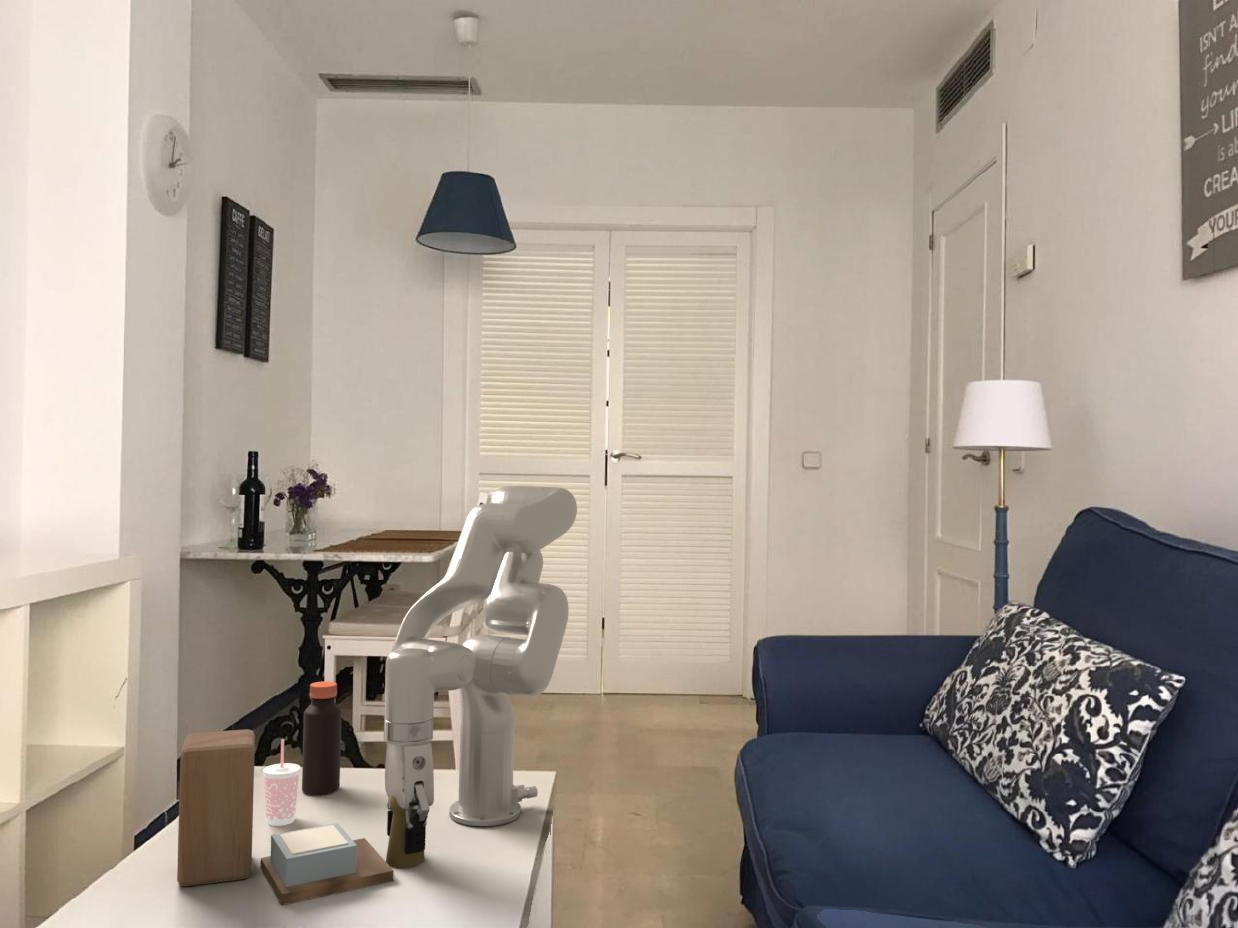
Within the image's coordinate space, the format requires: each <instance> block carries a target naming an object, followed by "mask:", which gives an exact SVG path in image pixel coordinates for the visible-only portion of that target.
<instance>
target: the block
mask: <svg viewBox="0 0 1238 928" xmlns="http://www.w3.org/2000/svg"><path fill="white" fill-rule="evenodd" d="M183 741H184V742H183V746H182V748H181V753H180V758H179V759H180V761H179V766H180V767H179V797H178V798H179V799H178V800H179V801H178V802H179V803H178V831H177V832H178V836H177V868H176V869H177V871H176V873H177V875H176V876H177V877H176V881H177V883H178V885H179V886H181V887H188V886H189V887H190V886H197V885H198V886H199V885H205V884H206V885H207V884H215V883H221V882H230V881H231V882H232V881H237V880H239V881H240V880H245V879H247V878H249V877H250V876H251V873H252V865H253V864H252V861H253V860H252V857H253V827H254V826H253V821H254V820H253V819H254V786H255V785H254V784H255V783H254V782H255V751H256V750H255V746H256V745H255V744H256V735H255V732H254V730H251V729H248V728H247V729H236V730H235V729H233V730H220V731H206V732H205V731H204V732H191V733H189V734H187V735H186V737H185V739H184V740H183Z"/></svg>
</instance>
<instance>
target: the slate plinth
mask: <svg viewBox="0 0 1238 928" xmlns="http://www.w3.org/2000/svg"><path fill="white" fill-rule="evenodd" d="M353 840H354V839H352V838H351V837H350V835H349V834H348V833H347V832H346V831H345V830H344V828H343V827H342V826H341V825H340V824H339V823H338V822H335V823H329V824H324V825H318V826H313V827H307V828H302V829H297V830H292V831H291V830H290V831H284V832H280V833H275V834H271V835H270V856H271V860H270V861H271V863H272V865H273V866H274V868H275V870H276V871H277V873H278V875H279V876H280V878H281V880H282V881H283V883H284V884H285V886H286V887H289V886H294V885H299V884H304V883H308V882H313V881H318V880H323V879H327V878H332V877H337V876H342V875H346V874H351V873H356V859H357V845H356V844H355V843H354V841H353Z"/></svg>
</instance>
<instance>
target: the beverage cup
mask: <svg viewBox="0 0 1238 928" xmlns="http://www.w3.org/2000/svg"><path fill="white" fill-rule="evenodd" d="M280 741H281V742H280V763H275V764H271V765H268V766H266V767H264V768H263V770H262V772H263V774H262V775H263V777H264V795H265V797H264V799H265V820H266V824H267V825H269V826H274V827H275V826H277V827H280V826H286V825H290V824H292V823H294V821H295V820H296V809H297V798H298V786H299V777H300V776H299V775H300V773H301V769H302V767H301V766H300V765H299V764H296V763H292V762H291V763H290V762H286V763H285V761H284V760H285V759H284V758H285V754H284V753H285V739H284V738H282V739H280Z"/></svg>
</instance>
